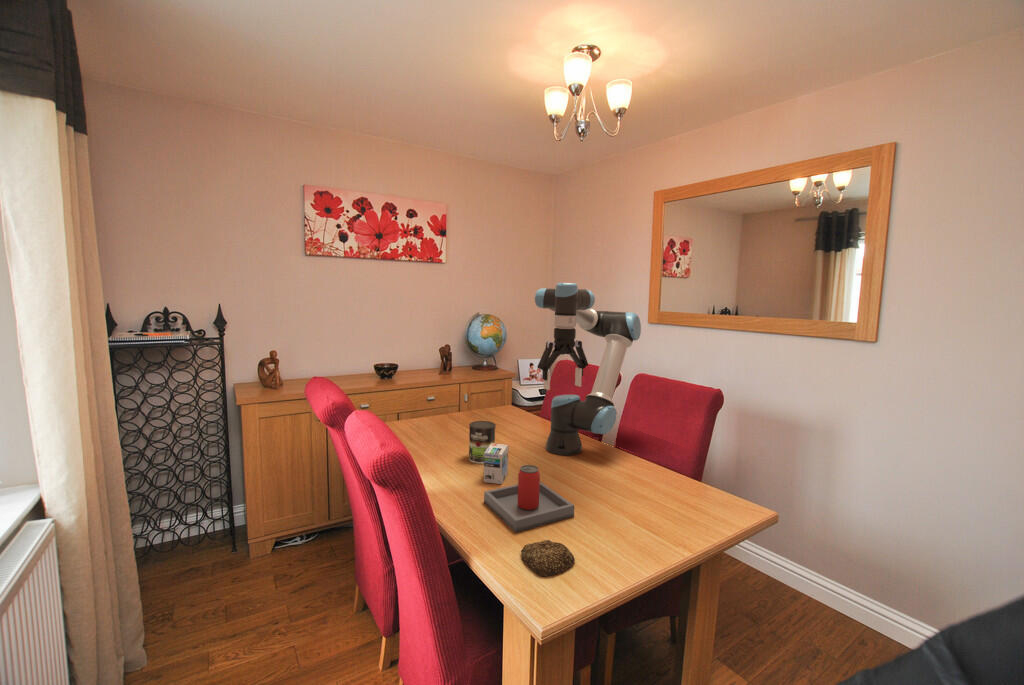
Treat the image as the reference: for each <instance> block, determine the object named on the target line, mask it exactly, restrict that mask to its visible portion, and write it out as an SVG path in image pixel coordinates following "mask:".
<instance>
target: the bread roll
mask: <svg viewBox="0 0 1024 685" xmlns="http://www.w3.org/2000/svg"><path fill="white" fill-rule="evenodd" d="M520 554H521V558H522V559H521V560H522V561H523V562H524V563H525V565H527V567H528V568H530V569H531V570H533V572H535V574H537V575H538V576H541V577H550V576H551V577H552V576H553V577H554V576H556V575H558V574H564V573H565V571H566V570H568V569H570V568H572V567H573V566H574V563H575V560H576V559H575V557H574V554H573V553H572V552H571V550H570V549H569V548H568V547H567V546H565V544H563V543H561V542H555V541H552V540H550V539H547V540H546V539H545V540H543V541H537V542H533V543H526V545H524V546H523V547H522V549H521V551H520Z"/></svg>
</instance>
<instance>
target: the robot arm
mask: <svg viewBox="0 0 1024 685" xmlns="http://www.w3.org/2000/svg"><path fill="white" fill-rule="evenodd" d="M595 302H596V298H595V294H594V293H593V291H591V290H590V289H586V288H581V289H580V288H579V289H578V284H577V283H575V282H558V283H557V284H556V285H555V288H548V287H546V288H545V287H544V288H539V289H538V290H537V291H536V293H535V295H534V303H535V305H536V307H537V308H540V309H545V310H546V309H548V310H550V311H553V312H554V321H553V322H554V323H553V326H554V329H553V338H554V339H553V342H551V341H546V343H545V349H544V351H543V352H542V355H541V357H540V359H539V362H538V365H537V367H536V368H537V369H539V370H541V372H542V373H541V374H542V376H541V377H542V378H541V379H542V380H543V390H547V391H550V390H551V371H550V369H551V368H552V366H553V365H554V363H555V362H556V360H557V359H558V357H560V356H561V355H569V356H570V358H571V359H572V361H573V362H574V364H575V365H576V366H577V367H575V372H574V373H575V375H574V376H575V377H574V378H575V379H574V386H576V387H582V378H583V377H584V369H586V367H588V366H589V362H588V359H587V356H586V354H585V350H584V348H583V341H581V340H575V339H576V335H577V334H576V333H577V332H576V327H577V325H578V327H579V328H581V330H584V331H586V332H588V333H590V334H592V335H594V336H597V337H601V338H604V339H605V342H606V345H605V349H604V351H603V354H602V358H601V360H600V364H599V367H598V369H597V373H596V377H595V381H594V383H593V385H592V389H591V393H589V394H587V395H586V396H585V399H584V400H581V397H580V395H578V394H560V395H555V396H554V397H553V398H552V400H551V406H550V410H551V411H550V432H549V434H548V437H547V440H546V442H545V449H546V451H547V452H549V453H551V454H553V455H558V456H575V455H578V454H580V453H581V452H582V451H583V450H582V449H583V444H582V440H581V437H580V433H579V430H581V431H584V432H590V433H592V434H598V435H599V434H600V435H606V434H608V433H609V432H611V430H612V429H613V428H614V425H615V423H616V420H617V414H618V413H617V409H616V408H615V403H614V401H613V397H614V393H615V389H616V386H617V382H618V379H619V376H620V372H621V370H622V365H623V363H624V359H625V355H626V353H627V349H628V348H630V347H632V345H633V342H634V341H635V342H636V341H638V340H639V339H640V337H641V333H642V326H641V319H640V317H639V315H638V314H637V313H635V312H628V311H609V310H608V311H607V310H595V309H593V308H592V307H593V306H594V304H595ZM575 349H576V350H575Z"/></svg>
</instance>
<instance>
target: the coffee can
mask: <svg viewBox="0 0 1024 685" xmlns="http://www.w3.org/2000/svg"><path fill="white" fill-rule="evenodd" d="M468 436H469V442H468V446H469V447H468V449H469V450H468V460H469V462H471V463H473V464H478V465H484V452H485V451H486V450H487V448H488V447H489V446H490V444H491V443H495V444H496V423H494V422H492V421H489V420H475V421H472V422H469V434H468Z"/></svg>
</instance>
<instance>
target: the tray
mask: <svg viewBox="0 0 1024 685" xmlns="http://www.w3.org/2000/svg"><path fill="white" fill-rule="evenodd" d="M483 503H484V504H485V503H486V504H485V505H486V506H487V507H488V508H489V509H490V510H491V511H492V512H493V513H495V514H496V516H498V517H499V518H500V519H501V520H502V521H503V522H504V523H505V524H506V525H507V526H508V527H509V528H510V529H511V530H512V531H513V532H514V533H516V534H517V533H520V532H523V531H527V530H530V529H534V528H537V527H542V526H546V525H549V524H552V523H555V522H559V521H563V520H566V519H570V518H573V517H575V505H574V504H573V503H572V502H571V501H569V500H568V499H566V498H565V497H563V496H562V495H560V494H559V493H558V492H556V491H555V490H554V489H552V488H551V487H549V486H548V485H546V484H545V483H544V482H541V481H540V487H539V506H538V508H536V509H534V510H523V509H521V508H520V507H519V506H518V504H517V503H518V483H517V484H513V485H508V486H503V487H499V488H494V489H490V490H485V491H484V492H483Z"/></svg>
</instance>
